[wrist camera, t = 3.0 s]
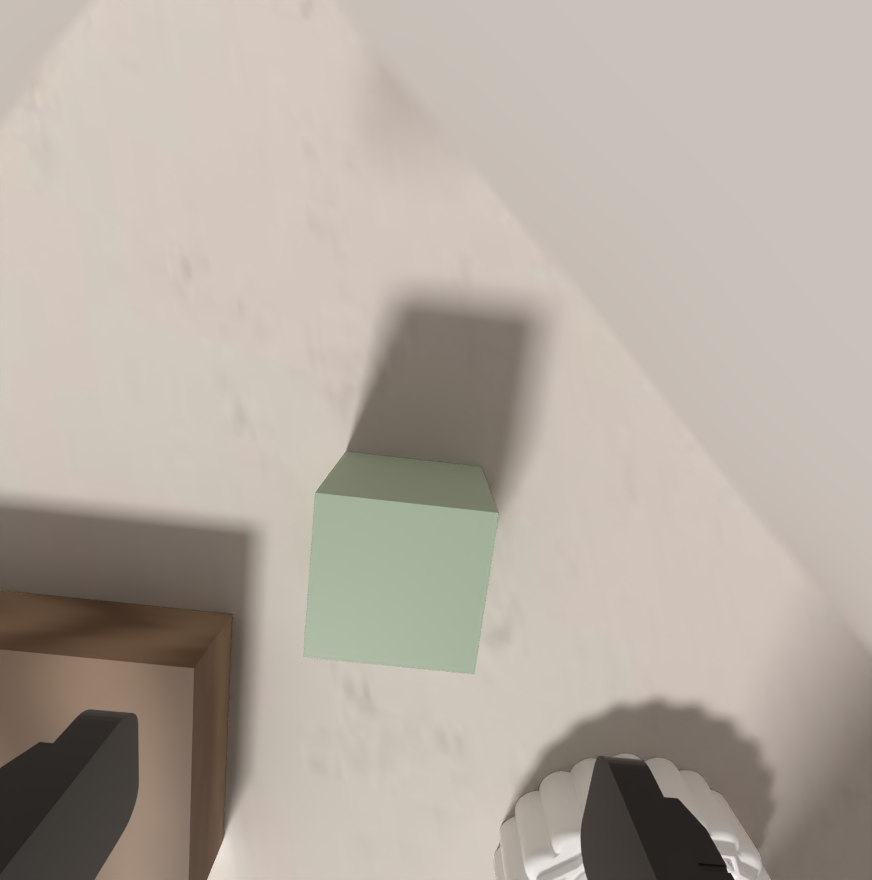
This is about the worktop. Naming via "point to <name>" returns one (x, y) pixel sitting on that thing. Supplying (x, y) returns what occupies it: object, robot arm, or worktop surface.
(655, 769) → the mooncake
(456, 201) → the worktop surface
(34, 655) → the walnut block
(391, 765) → the worktop surface
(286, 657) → the worktop surface
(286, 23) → the worktop surface
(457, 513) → the sage block
